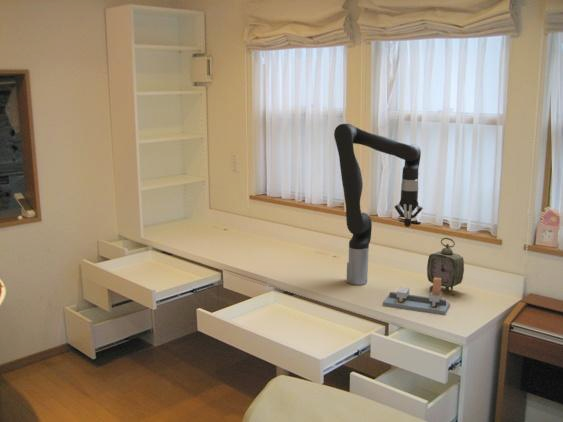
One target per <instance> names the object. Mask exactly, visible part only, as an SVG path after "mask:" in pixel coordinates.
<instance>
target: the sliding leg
mask: <svg viewBox="0 0 563 422" xmlns="http://www.w3.org/2000/svg"><path fill="white" fill-rule="evenodd" d="M441 284H442V278H437V277H435V278H434V279H433V283H432V285H433V289H432V291H431V293H430V294H429V297H430V298H429V301H433V302H432V306H434V307H435V306H436V302H440V300H441V299H443V298H442V297H443V291H442V286H441Z"/></svg>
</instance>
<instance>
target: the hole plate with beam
mask: <svg viewBox="0 0 563 422" xmlns="http://www.w3.org/2000/svg"><path fill="white" fill-rule="evenodd" d="M410 290H411V289H410V287H404V286H403V287H402V286H400V287H399V288H398V289H397V291H396V292H395V291H390V292H389V294H388V295H387V296H386V297H385V299H383V301H382V306H384V307H392V308H399V309H404V310H411V311H418V312H423V313H430V314H439V315H444V316H446V314H447V312H448V309H449V308H450V304H451V303H450V301H447V299H444V298H441V300H440V302H436V306H435V307H434V306H432V302H433V301H429V298H430V296H424V295H423V296H422V295H415V294H410Z"/></svg>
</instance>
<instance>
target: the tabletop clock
mask: <svg viewBox="0 0 563 422" xmlns="http://www.w3.org/2000/svg"><path fill="white" fill-rule="evenodd" d="M444 240H448V241H451V242H452V243H453V245H450V244H449V243H447V244H445V243H443V241H444ZM440 244H441V245H442V246H443V247H444V248H442V249H441V250H440V251H436V252H434V253H431V254H429V256H428V259H427V264H426V275H427V276H426V277H427V280H428V281H429V282H430V283H431V284H432V285H430V286H429V289H430V290H433V279H434V278H435V277H437V278H442V284H441V287H443V288H445V291H449V289H451V291H450V295H451V296H454V295H455V291H454V287H455V286H458V285H460V284H461V283H462V281H463V279H464V272H465V262H464V261H465V260H464V257H463V256H461V255H460V254H458V253H454V252H453V249H452V248H453V247H455V245H456V243H455V241H454V239H452V238H449V237H443V238H441V239H440Z"/></svg>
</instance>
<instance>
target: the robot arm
mask: <svg viewBox="0 0 563 422" xmlns="http://www.w3.org/2000/svg"><path fill="white" fill-rule="evenodd" d="M333 136H334V141H335V145H336V148H337V149H336V150H337V152H338V158H339V159H338V160H339V167H340V177H341V182H342V183H341V184H342V189H343V196H344V202H345V215H346V216H345V218H346V221H345V222H346V226H347V227H346V228H347V230H348V231H349V233H351V234H352V236H351V238H350V240H349V241H348V261H347V263H346V283H347V284H351V285H355V286H361V285H362V286H363V285H367V284H368V277H369V276H368V274H369V272H368V271H369V248H370V246H369V245H370V243H371V239H372V227H373V226H372V225H373V223H372V219H371V216H370V215H369V214H367V213H366V212H362V210H361V197H362V193H363V184H364V183H363V177H362V170H361V168H360V165H359V162H358V159H357V157H356V154H355V149H354V144H355V145H362V146H364V147H368V148H370V149H371V150H372V149H373V150H375V151H378V152H381V153H384V154H387V155H390V156H394V157H396V158H399V159H401V160H403V161H404V166H403V167H402V174H401V175H402V176H401V184H400V201H399V202H398V204H396V205H394V209H395V210H396V212H397V213H398V215H399V216H400V217H401V218H404V219H403V220H404V222H403V225H404V226H405V227H406V228H409V227H410V226H411V225H412V219H415V218H416V217H417V216H418V215H419V214H420V212H422V211H423V209H424V208H423V206H420V204H419V201H418V198H419V197H418V196H419V167H420V163H421V162H420V161H421V155H422V154H421V153H422V151H421V148H420V146H419V145H418V144H414V143H412V144H406V143H404V142H400V141H399V140H397V139H394V138H390V137H387V136H383V135H379V134H375V133H370V132H368V131H366V130H363V129H360V128H359V127H356V126H355V125H353V124H351V123H341V124H338V125H337V126H336V127H335V129H334V133H333ZM415 209H416V211H415ZM414 211H415V213H414ZM413 213H414V214H413Z"/></svg>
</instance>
